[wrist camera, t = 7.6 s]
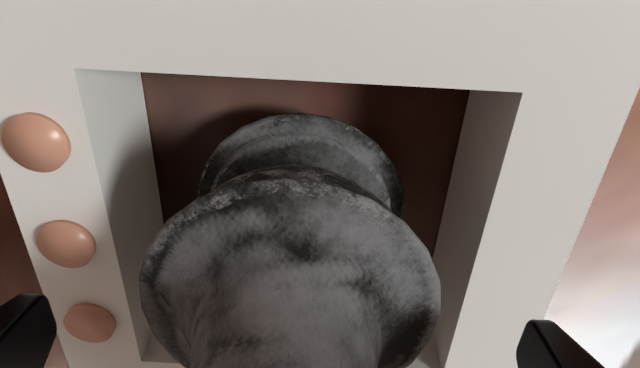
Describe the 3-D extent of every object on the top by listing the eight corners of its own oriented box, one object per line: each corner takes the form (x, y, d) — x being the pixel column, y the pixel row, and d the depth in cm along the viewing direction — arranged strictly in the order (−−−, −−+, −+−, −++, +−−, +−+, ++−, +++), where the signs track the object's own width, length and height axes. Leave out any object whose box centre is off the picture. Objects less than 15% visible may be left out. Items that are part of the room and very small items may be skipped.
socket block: (473, 340, 17) (500, 431, 14) (120, 322, 17) (78, 409, 14) (597, -47, 10) (692, -19, 7) (21, -79, 10) (-94, -62, 7)
